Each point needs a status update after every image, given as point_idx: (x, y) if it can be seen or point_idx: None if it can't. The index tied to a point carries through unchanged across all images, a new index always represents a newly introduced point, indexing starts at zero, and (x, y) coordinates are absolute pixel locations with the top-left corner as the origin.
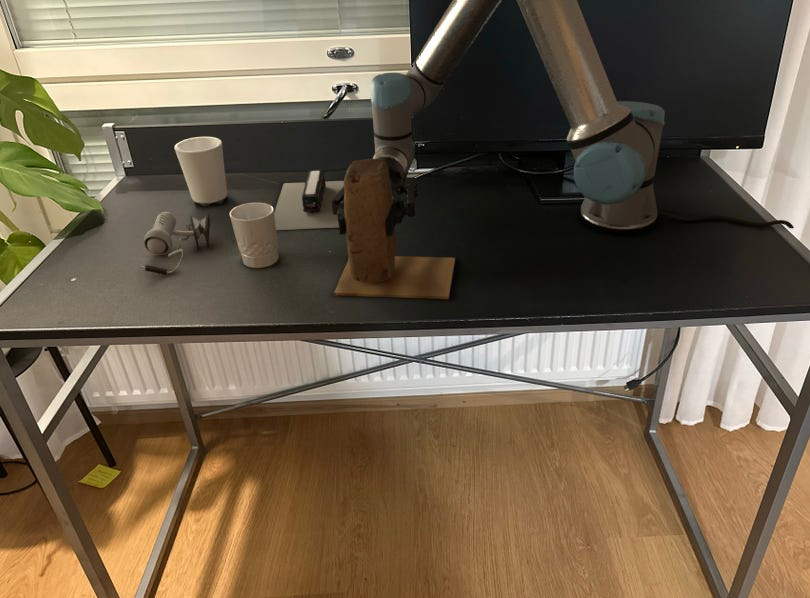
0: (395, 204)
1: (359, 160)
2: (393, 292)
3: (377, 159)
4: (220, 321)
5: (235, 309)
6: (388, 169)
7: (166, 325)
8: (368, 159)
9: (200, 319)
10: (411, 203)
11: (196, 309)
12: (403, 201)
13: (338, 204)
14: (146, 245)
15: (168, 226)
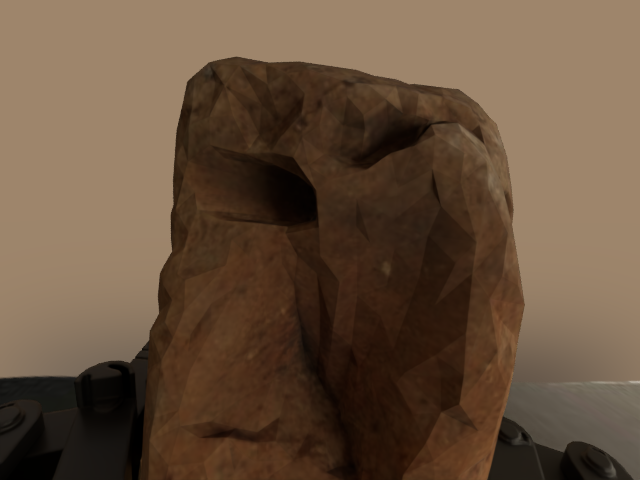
0: (131, 455)
1: (432, 89)
2: None
3: (273, 63)
4: (547, 388)
5: (563, 421)
6: (177, 140)
7: (618, 383)
8: (360, 74)
9: (587, 394)
10: (16, 403)
11: (636, 423)
12: (80, 385)
13: (547, 458)
14: None
15: None
